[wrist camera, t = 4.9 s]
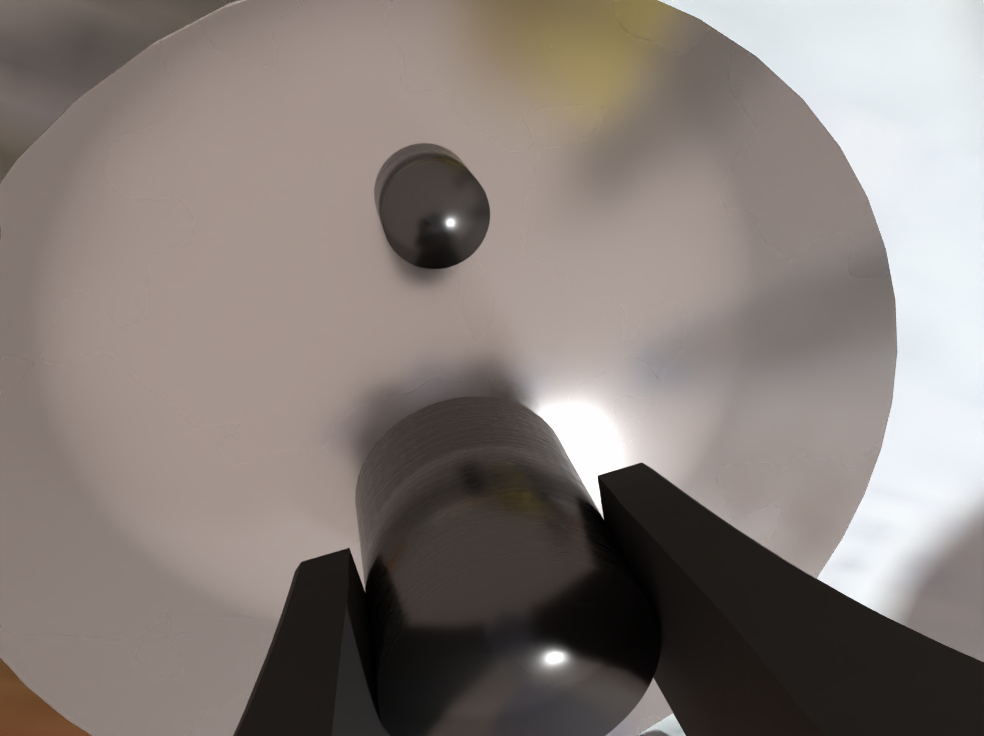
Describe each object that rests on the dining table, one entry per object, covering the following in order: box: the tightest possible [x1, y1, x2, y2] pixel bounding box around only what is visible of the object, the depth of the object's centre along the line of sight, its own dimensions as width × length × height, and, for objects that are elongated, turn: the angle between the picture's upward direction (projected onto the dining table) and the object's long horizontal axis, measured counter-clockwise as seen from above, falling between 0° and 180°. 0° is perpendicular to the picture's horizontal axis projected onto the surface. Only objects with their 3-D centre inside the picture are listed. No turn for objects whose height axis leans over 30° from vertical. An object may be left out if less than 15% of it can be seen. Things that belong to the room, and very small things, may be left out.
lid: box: [0, 0, 897, 736], centre depth 11 cm, size 14×14×4 cm
